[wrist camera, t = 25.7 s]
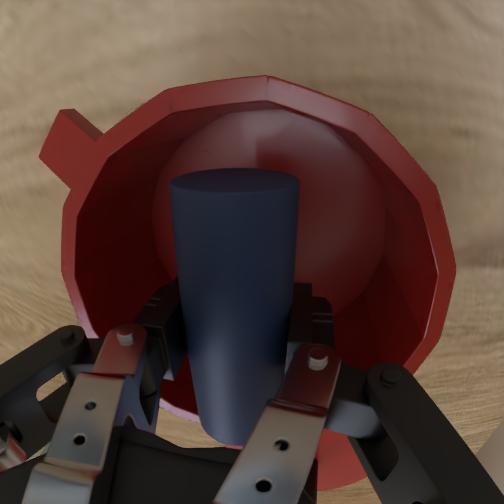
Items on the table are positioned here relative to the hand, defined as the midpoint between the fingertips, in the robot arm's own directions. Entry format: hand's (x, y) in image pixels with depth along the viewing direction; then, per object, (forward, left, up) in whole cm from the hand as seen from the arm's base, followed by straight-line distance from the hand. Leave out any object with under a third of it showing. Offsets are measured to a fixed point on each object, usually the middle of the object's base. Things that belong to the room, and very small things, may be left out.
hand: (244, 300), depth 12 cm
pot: (0, 0, -8) cm, 8 cm away
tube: (0, 0, 0) cm, 0 cm away
